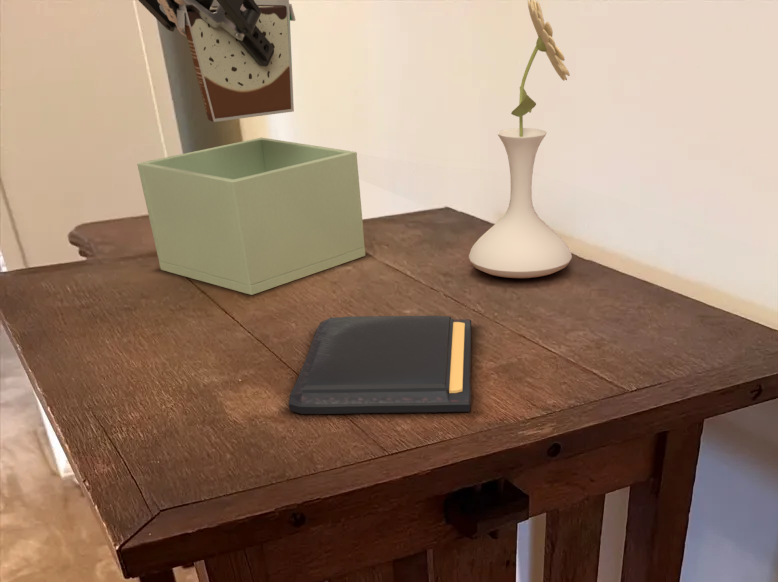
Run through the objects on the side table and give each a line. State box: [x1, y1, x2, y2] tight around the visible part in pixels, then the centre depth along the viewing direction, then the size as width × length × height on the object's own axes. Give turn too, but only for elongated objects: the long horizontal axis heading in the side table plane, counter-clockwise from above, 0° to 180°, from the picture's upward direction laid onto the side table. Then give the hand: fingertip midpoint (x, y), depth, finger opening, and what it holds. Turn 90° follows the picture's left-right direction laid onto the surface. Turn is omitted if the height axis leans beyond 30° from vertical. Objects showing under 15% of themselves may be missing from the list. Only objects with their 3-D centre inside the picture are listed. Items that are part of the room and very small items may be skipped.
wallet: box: [288, 315, 472, 415], centre depth 80 cm, size 20×2×15 cm
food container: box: [177, 0, 296, 123], centre depth 93 cm, size 12×6×10 cm, turn 130°
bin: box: [136, 137, 366, 296], centre depth 103 cm, size 16×18×11 cm
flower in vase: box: [468, 0, 573, 279], centre depth 95 cm, size 13×11×25 cm
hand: (244, 56), depth 94 cm, fingers closed on food container, 6 cm apart
